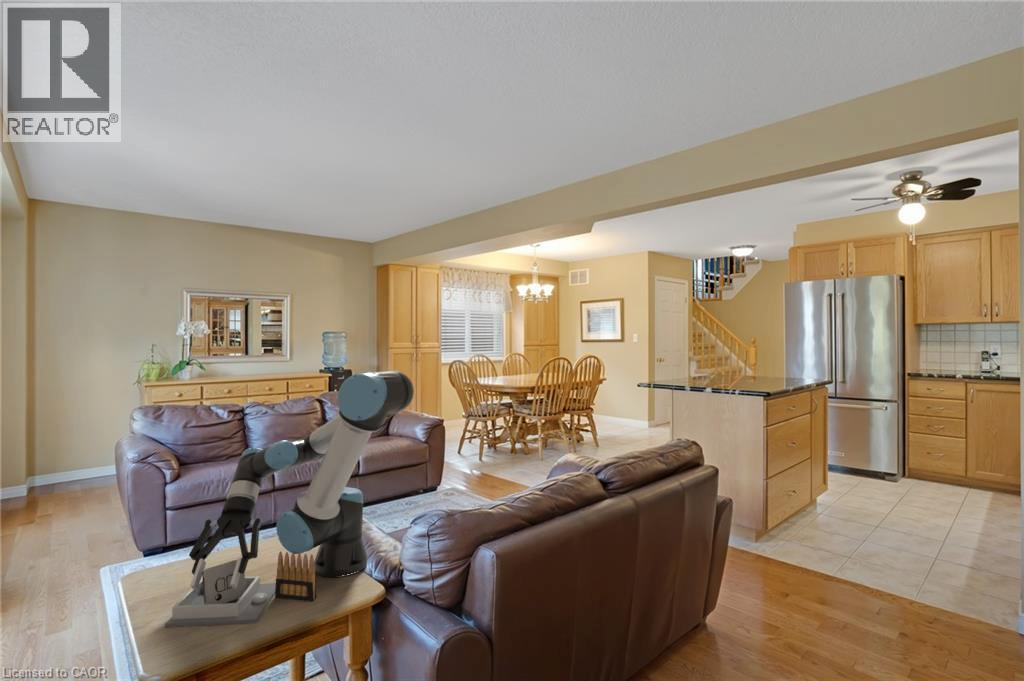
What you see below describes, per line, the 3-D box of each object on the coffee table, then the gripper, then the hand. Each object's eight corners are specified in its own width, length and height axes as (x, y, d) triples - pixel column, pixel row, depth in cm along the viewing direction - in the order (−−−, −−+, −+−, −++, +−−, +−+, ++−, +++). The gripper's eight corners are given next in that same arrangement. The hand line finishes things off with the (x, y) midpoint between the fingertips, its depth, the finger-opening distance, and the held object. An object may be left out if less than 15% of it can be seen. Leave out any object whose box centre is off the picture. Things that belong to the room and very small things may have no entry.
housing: (280, 585, 137) (280, 572, 137) (256, 622, 119) (256, 607, 119) (201, 589, 134) (201, 575, 134) (164, 627, 117) (165, 611, 117)
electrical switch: (206, 611, 122) (207, 571, 122) (197, 605, 125) (198, 567, 125) (246, 596, 129) (246, 559, 130) (237, 591, 132) (237, 555, 133)
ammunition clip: (316, 598, 131) (317, 553, 131) (312, 602, 129) (313, 556, 129) (279, 594, 133) (279, 549, 132) (274, 597, 131) (274, 552, 131)
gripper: (283, 506, 143) (262, 590, 127) (204, 508, 140) (172, 594, 124) (278, 493, 138) (255, 579, 122) (195, 495, 135) (161, 583, 119)
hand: (213, 587), depth 123 cm, fingers open, 8 cm apart
